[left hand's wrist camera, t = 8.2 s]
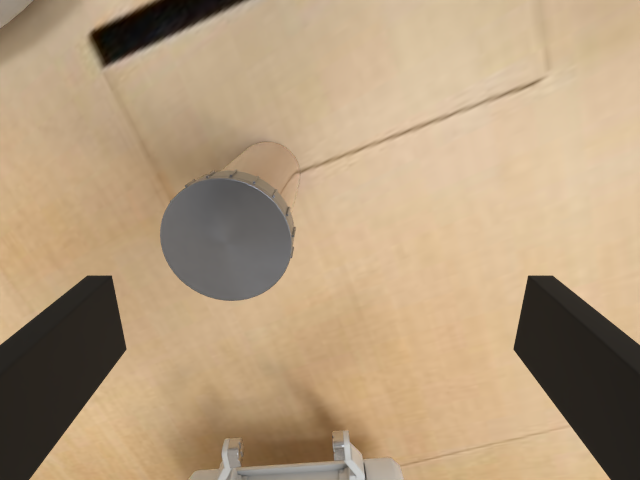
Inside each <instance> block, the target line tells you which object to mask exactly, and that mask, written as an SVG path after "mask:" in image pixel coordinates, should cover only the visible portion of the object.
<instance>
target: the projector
mask: <svg viewBox="0 0 640 480" xmlns="http://www.w3.org/2000/svg"><path fill="white" fill-rule="evenodd" d="M32 1H33V0H0V28H2V27H3V26H4V25H6V24H7V23H8V22H10V21H11V20H12V19H13V18H14V17H16V16H17V15H18V14H19V13H20V12H22V11H23V10H24V9H25V8H26V7H27V6H28V5H29V4H30V3H31V2H32Z"/></svg>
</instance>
